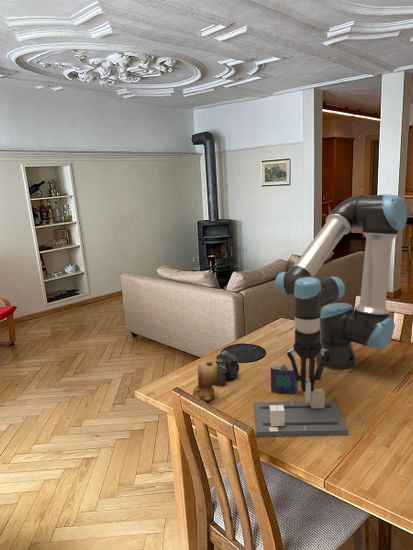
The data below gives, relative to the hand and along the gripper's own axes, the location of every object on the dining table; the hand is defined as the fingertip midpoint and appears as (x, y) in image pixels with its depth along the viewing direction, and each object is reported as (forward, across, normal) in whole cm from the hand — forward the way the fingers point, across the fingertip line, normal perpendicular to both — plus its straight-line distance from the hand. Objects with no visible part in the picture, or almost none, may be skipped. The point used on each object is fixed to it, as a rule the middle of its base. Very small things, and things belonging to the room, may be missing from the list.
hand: (307, 399), depth 129 cm
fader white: (+2, +11, +9) cm, 14 cm away
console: (+4, +4, +4) cm, 7 cm away
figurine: (+4, +33, -10) cm, 34 cm away
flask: (+4, +6, -12) cm, 14 cm away
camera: (+4, +26, -24) cm, 36 cm away
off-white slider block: (+2, -3, 0) cm, 4 cm away
